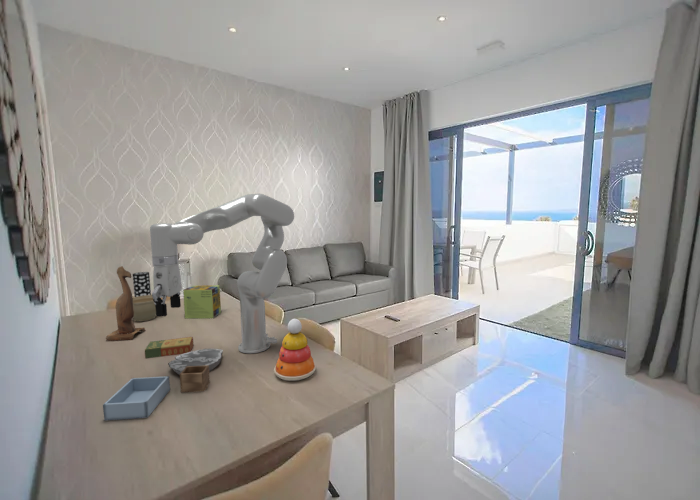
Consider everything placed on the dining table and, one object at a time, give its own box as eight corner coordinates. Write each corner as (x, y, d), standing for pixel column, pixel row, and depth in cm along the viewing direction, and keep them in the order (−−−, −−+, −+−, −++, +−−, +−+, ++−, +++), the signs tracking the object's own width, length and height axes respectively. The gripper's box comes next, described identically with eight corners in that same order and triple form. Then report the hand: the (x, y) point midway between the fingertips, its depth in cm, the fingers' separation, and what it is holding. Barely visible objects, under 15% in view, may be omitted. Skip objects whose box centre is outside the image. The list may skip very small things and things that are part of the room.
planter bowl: (153, 312, 188) (152, 293, 187) (168, 317, 179) (166, 297, 178) (121, 320, 176) (119, 299, 174) (134, 326, 166) (132, 304, 165)
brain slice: (186, 355, 132) (186, 348, 132) (229, 355, 132) (229, 348, 132) (156, 380, 113) (156, 372, 113) (207, 381, 112) (206, 372, 112)
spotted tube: (131, 308, 196) (128, 274, 194) (142, 304, 205) (140, 271, 202) (144, 309, 195) (141, 274, 193) (155, 305, 203) (152, 272, 201)
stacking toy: (270, 368, 121) (268, 315, 118) (309, 360, 126) (308, 310, 124) (278, 387, 108) (276, 327, 105) (321, 378, 113) (320, 321, 111)
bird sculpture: (134, 340, 148) (131, 268, 145) (105, 341, 147) (101, 268, 143) (145, 331, 159) (142, 264, 156) (118, 332, 158) (114, 264, 154)
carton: (190, 353, 134) (190, 343, 134) (144, 359, 129) (143, 348, 129) (193, 345, 142) (192, 336, 142) (150, 350, 137) (149, 340, 137)
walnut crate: (209, 382, 111) (208, 365, 110) (204, 391, 106) (203, 373, 105) (187, 383, 110) (186, 366, 110) (180, 392, 105) (179, 374, 104)
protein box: (213, 318, 177) (212, 289, 175) (184, 318, 177) (182, 289, 175) (221, 312, 187) (220, 285, 185) (193, 312, 187) (192, 285, 186)
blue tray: (170, 389, 107) (169, 376, 106) (147, 417, 92) (146, 402, 92) (133, 391, 106) (131, 378, 105) (104, 420, 91) (102, 404, 91)
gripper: (164, 265, 103) (167, 319, 105) (188, 257, 121) (191, 304, 123) (138, 265, 103) (143, 320, 105) (166, 257, 120) (169, 304, 122)
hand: (169, 311), depth 114 cm, fingers open, 9 cm apart
